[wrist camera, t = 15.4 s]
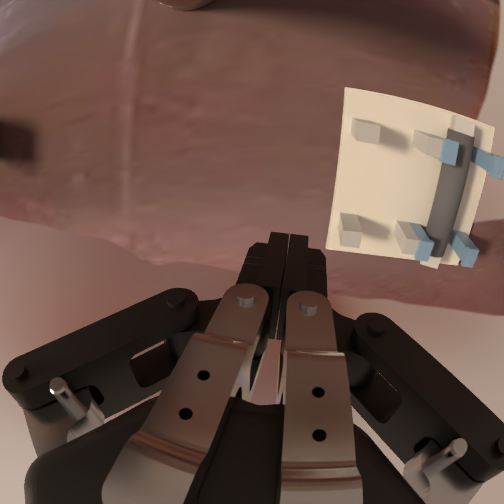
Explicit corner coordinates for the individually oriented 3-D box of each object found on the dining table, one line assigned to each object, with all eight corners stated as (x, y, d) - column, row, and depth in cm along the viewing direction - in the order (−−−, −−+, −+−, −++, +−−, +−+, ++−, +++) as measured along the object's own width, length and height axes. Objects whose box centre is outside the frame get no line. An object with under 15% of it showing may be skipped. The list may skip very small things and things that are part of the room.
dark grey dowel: (447, 113, 26) (452, 114, 24) (472, 121, 25) (480, 124, 22) (416, 252, 37) (416, 264, 34) (438, 258, 35) (440, 271, 33)
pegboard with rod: (344, 87, 28) (352, 86, 23) (492, 126, 25) (518, 136, 20) (325, 246, 39) (327, 273, 34) (455, 262, 37) (471, 288, 31)
